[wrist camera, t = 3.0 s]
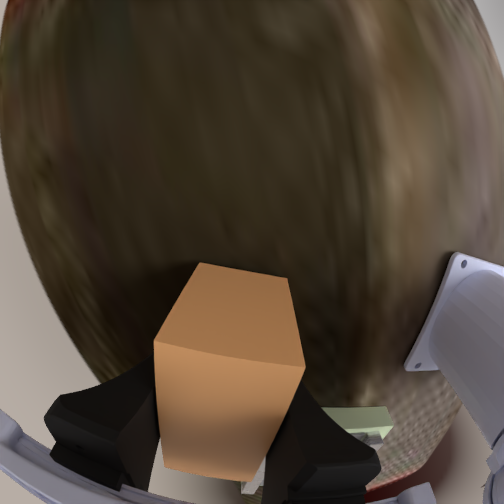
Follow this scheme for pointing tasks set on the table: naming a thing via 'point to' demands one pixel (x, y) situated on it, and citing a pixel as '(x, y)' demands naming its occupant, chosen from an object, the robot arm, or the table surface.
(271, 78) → the table surface
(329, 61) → the table surface
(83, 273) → the table surface
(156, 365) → the tan tapered column
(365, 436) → the green rimmed tray
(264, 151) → the table surface
